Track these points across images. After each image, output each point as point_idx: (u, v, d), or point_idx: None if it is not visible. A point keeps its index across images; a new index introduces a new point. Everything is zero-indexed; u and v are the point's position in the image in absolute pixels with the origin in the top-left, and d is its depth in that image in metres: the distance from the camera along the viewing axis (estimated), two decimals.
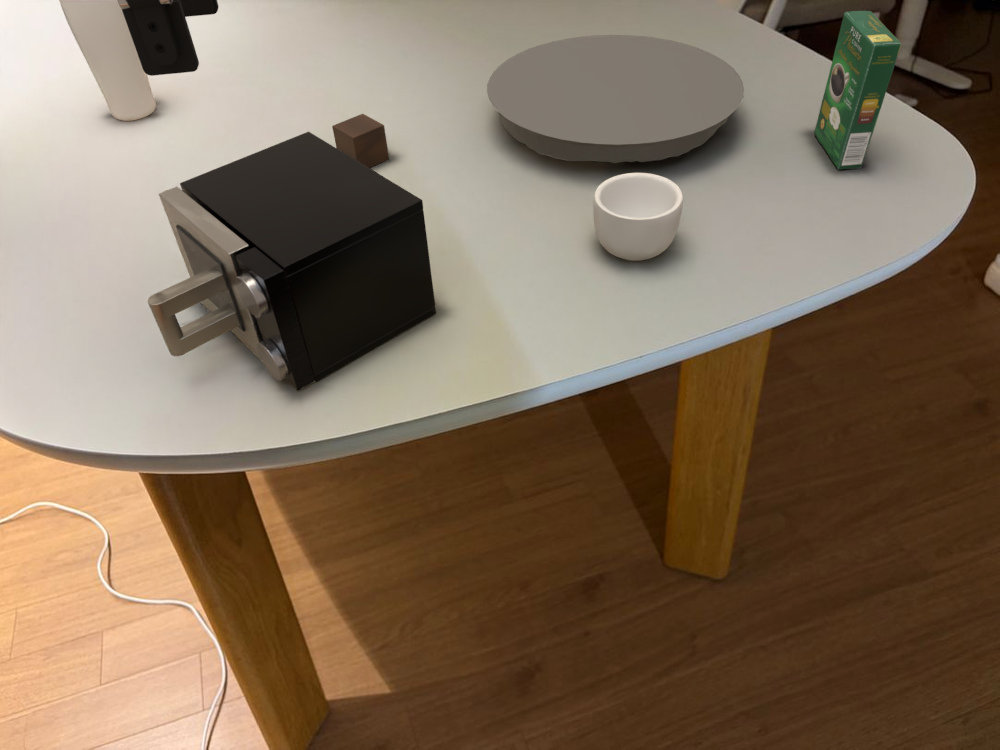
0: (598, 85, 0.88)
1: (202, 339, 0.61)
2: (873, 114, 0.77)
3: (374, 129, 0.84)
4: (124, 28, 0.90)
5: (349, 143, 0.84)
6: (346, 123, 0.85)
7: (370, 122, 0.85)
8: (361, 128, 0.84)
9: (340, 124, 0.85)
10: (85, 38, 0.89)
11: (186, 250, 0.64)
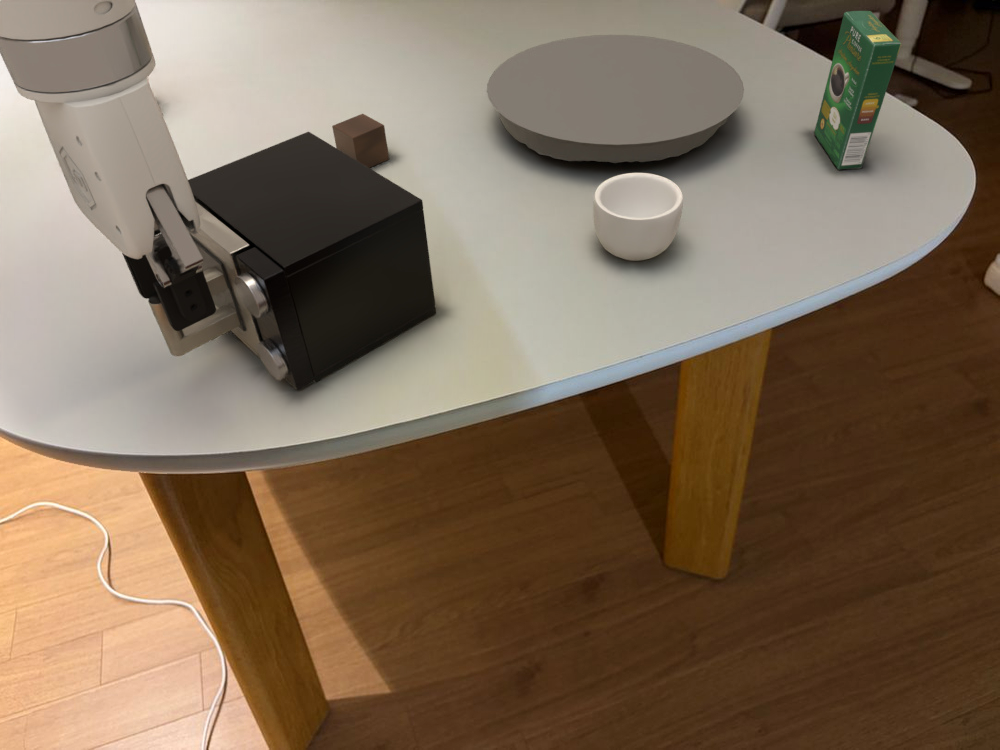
0: (598, 85, 0.88)
1: (203, 338, 0.61)
2: (873, 114, 0.77)
3: (374, 129, 0.84)
4: None
5: (349, 143, 0.84)
6: (346, 123, 0.85)
7: (370, 122, 0.85)
8: (361, 128, 0.84)
9: (340, 124, 0.85)
10: None
11: None
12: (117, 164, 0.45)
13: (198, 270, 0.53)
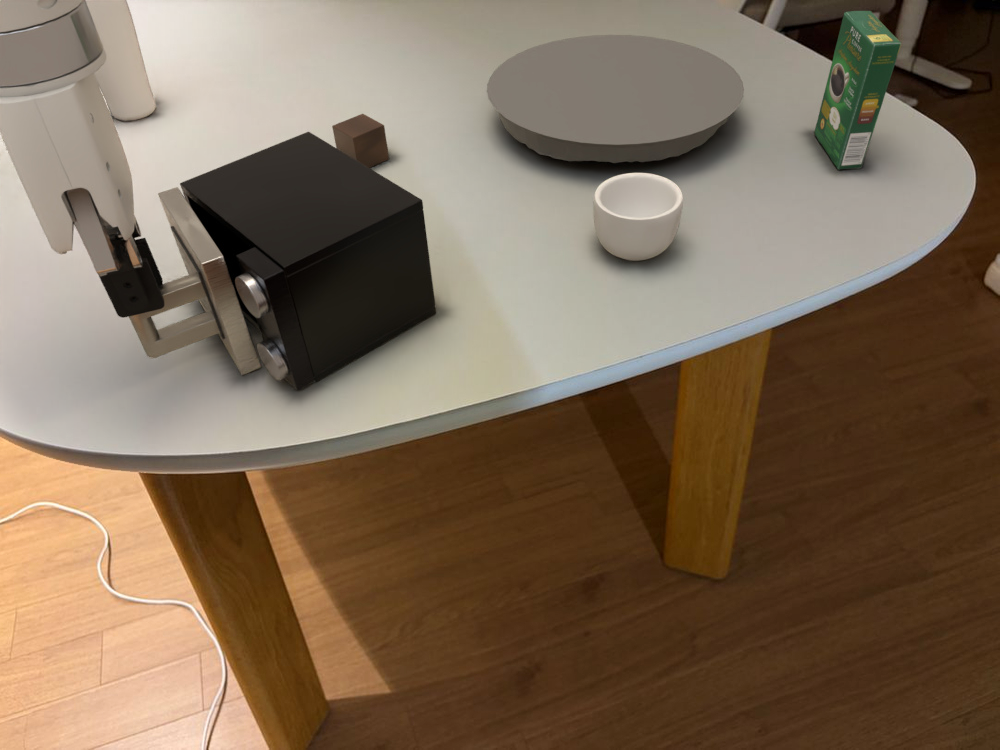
0: (598, 85, 0.88)
1: (179, 343, 0.61)
2: (873, 114, 0.77)
3: (374, 129, 0.84)
4: (124, 28, 0.90)
5: (349, 143, 0.84)
6: (346, 123, 0.85)
7: (370, 122, 0.85)
8: (361, 128, 0.84)
9: (340, 124, 0.85)
10: None
11: (180, 251, 0.64)
12: (30, 163, 0.45)
13: (136, 266, 0.53)
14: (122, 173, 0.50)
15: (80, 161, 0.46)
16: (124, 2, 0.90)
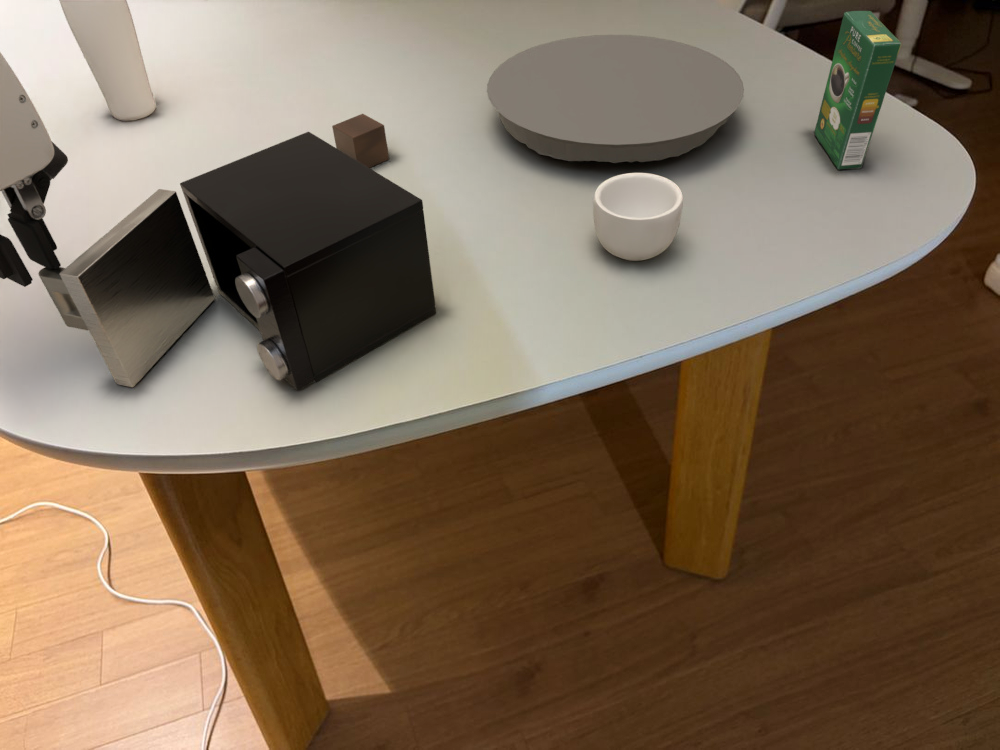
0: (598, 85, 0.88)
1: (84, 326, 0.63)
2: (873, 114, 0.77)
3: (374, 129, 0.84)
4: (124, 28, 0.90)
5: (349, 143, 0.84)
6: (346, 123, 0.85)
7: (370, 122, 0.85)
8: (361, 128, 0.84)
9: (340, 124, 0.85)
10: (85, 38, 0.89)
11: None
12: None
13: None
14: None
15: None
16: (124, 2, 0.90)
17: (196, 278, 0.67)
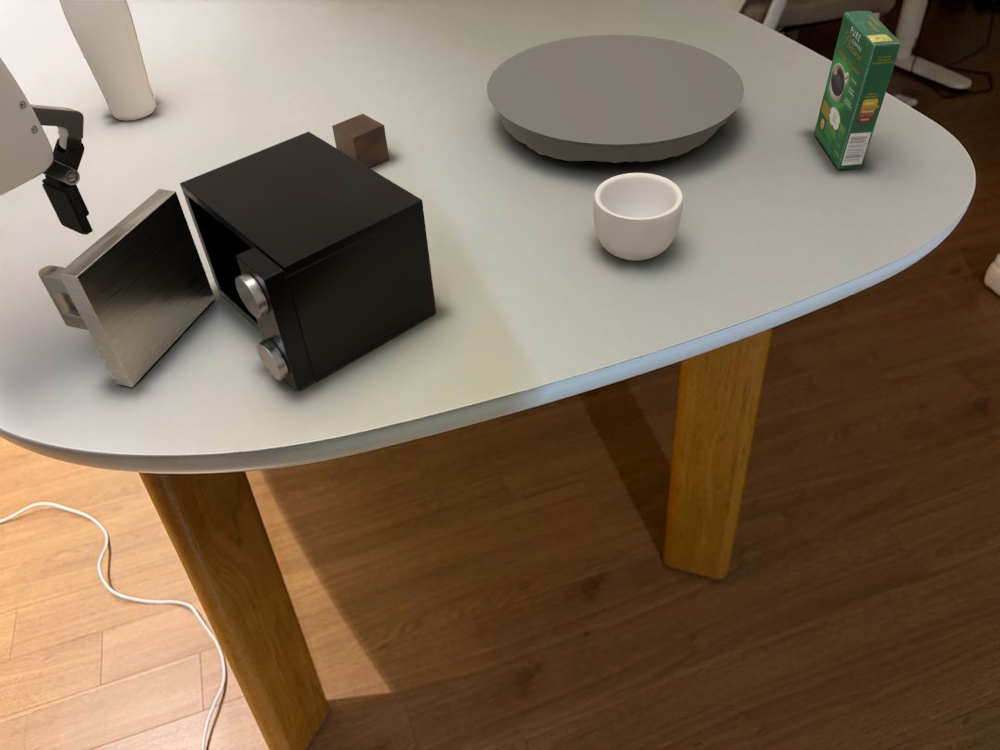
0: (598, 85, 0.88)
1: (84, 325, 0.63)
2: (873, 114, 0.77)
3: (374, 129, 0.84)
4: (124, 28, 0.90)
5: (349, 143, 0.84)
6: (346, 123, 0.85)
7: (370, 122, 0.85)
8: (361, 128, 0.84)
9: (340, 124, 0.85)
10: (85, 38, 0.89)
11: None
12: None
13: None
14: None
15: None
16: (124, 2, 0.90)
17: (196, 278, 0.67)
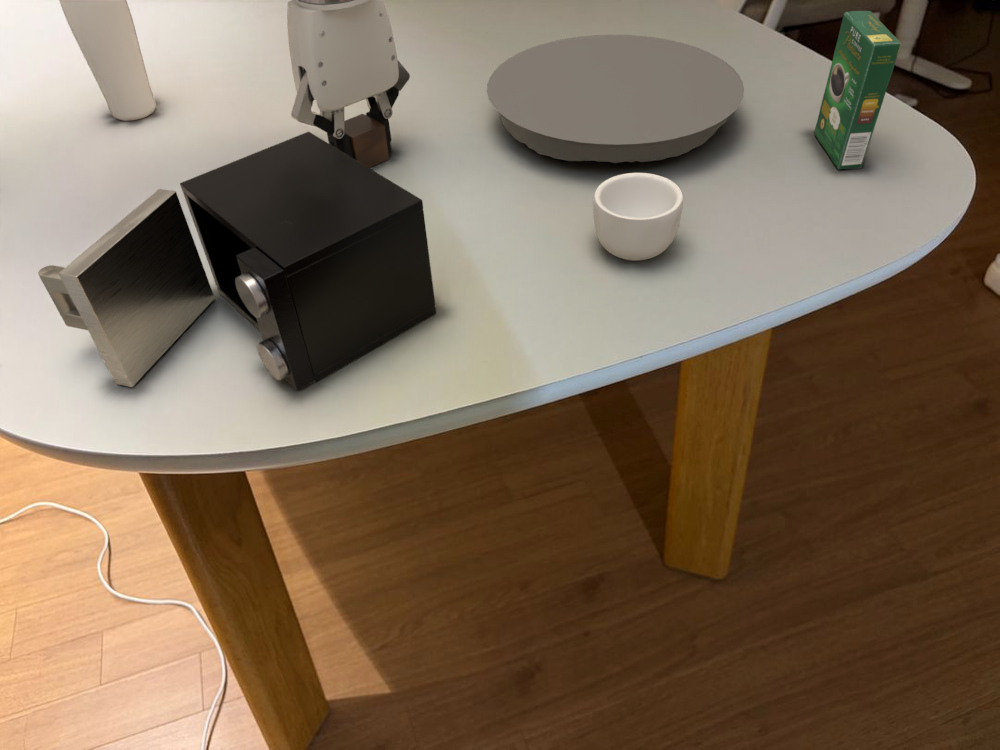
0: (598, 85, 0.88)
1: (84, 325, 0.63)
2: (873, 114, 0.77)
3: (374, 129, 0.84)
4: (124, 28, 0.90)
5: None
6: (346, 123, 0.85)
7: (370, 122, 0.85)
8: (361, 128, 0.84)
9: None
10: (85, 38, 0.89)
11: None
12: (290, 41, 0.77)
13: (333, 135, 0.82)
14: (346, 75, 0.78)
15: (305, 53, 0.76)
16: (124, 2, 0.90)
17: (196, 278, 0.67)
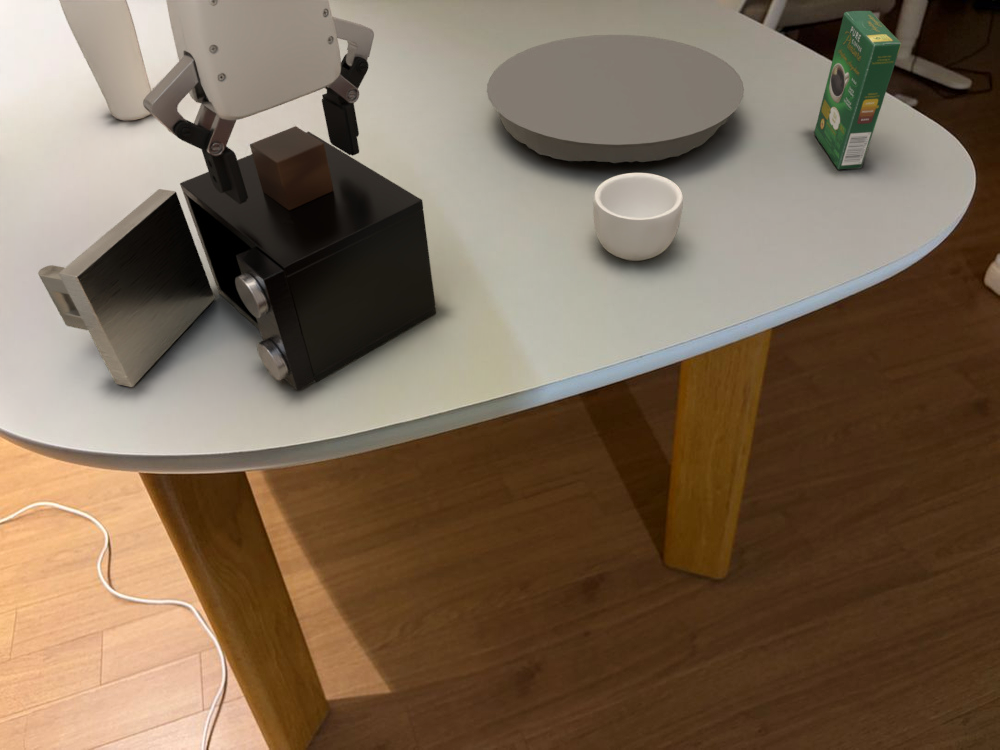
0: (598, 85, 0.88)
1: (84, 325, 0.63)
2: (873, 114, 0.77)
3: (309, 149, 0.58)
4: (124, 28, 0.90)
5: (272, 169, 0.58)
6: (270, 140, 0.59)
7: (305, 139, 0.59)
8: (291, 148, 0.58)
9: (261, 142, 0.59)
10: (85, 38, 0.89)
11: None
12: (169, 14, 0.51)
13: (207, 151, 0.54)
14: (256, 65, 0.52)
15: (190, 31, 0.50)
16: (124, 2, 0.90)
17: (196, 278, 0.67)
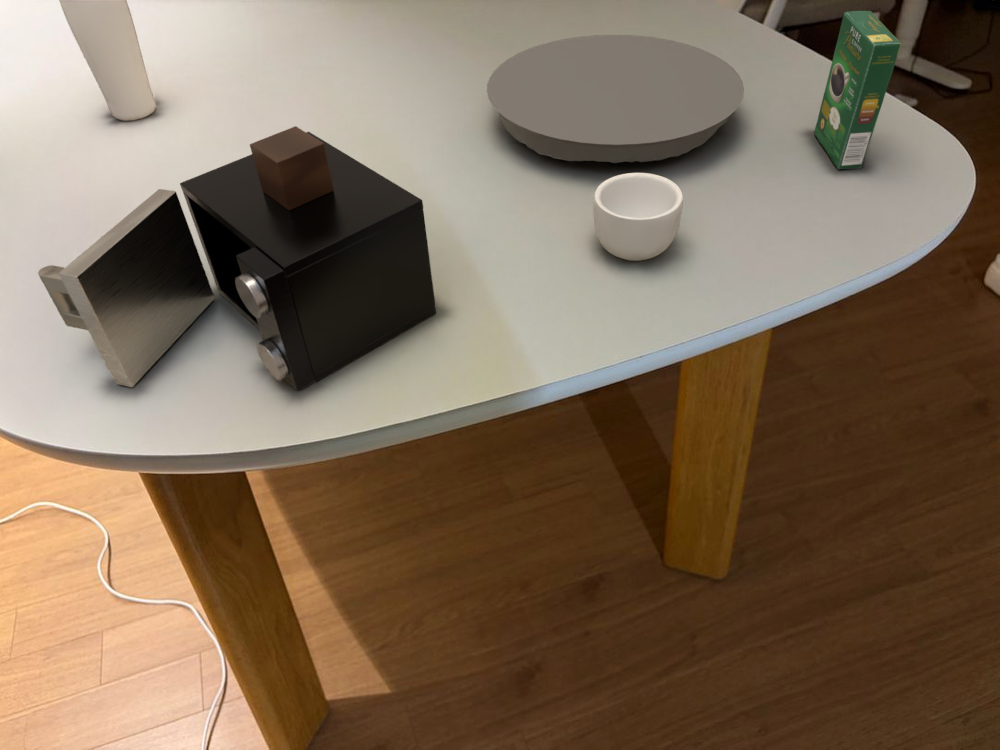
0: (598, 85, 0.88)
1: (84, 325, 0.63)
2: (873, 114, 0.77)
3: (309, 149, 0.58)
4: (124, 28, 0.90)
5: (272, 169, 0.58)
6: (270, 140, 0.59)
7: (305, 139, 0.59)
8: (291, 148, 0.58)
9: (261, 142, 0.59)
10: (85, 38, 0.89)
11: None
12: None
13: None
14: None
15: None
16: (124, 2, 0.90)
17: (196, 278, 0.67)
